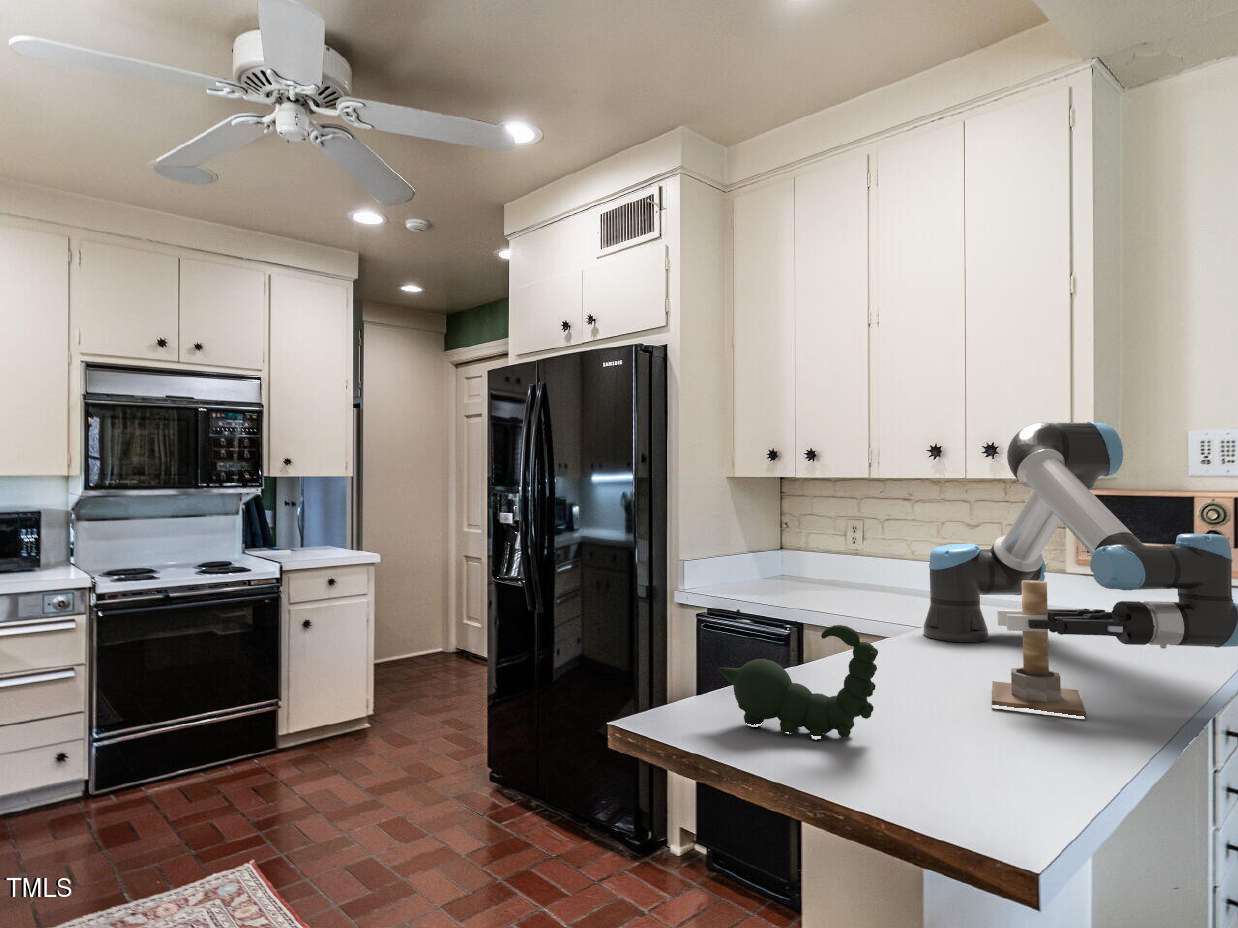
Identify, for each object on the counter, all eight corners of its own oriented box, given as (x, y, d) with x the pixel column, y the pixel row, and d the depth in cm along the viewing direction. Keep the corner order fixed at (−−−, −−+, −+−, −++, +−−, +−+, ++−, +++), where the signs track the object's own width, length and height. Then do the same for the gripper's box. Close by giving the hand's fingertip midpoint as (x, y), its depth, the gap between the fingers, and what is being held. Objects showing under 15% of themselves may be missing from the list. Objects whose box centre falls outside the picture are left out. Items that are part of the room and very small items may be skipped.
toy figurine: (872, 743, 119) (722, 709, 130) (882, 625, 119) (731, 601, 130) (865, 763, 111) (705, 726, 121) (875, 637, 110) (714, 610, 121)
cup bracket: (991, 708, 131) (991, 677, 131) (992, 688, 144) (992, 660, 144) (1085, 720, 125) (1084, 687, 125) (1077, 698, 137) (1077, 668, 137)
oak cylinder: (1023, 672, 133) (1021, 582, 134) (1023, 667, 137) (1021, 579, 137) (1049, 674, 131) (1047, 583, 132) (1048, 669, 135) (1046, 581, 135)
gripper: (1172, 655, 123) (1020, 651, 127) (1120, 634, 140) (987, 631, 143) (1171, 609, 123) (1019, 607, 127) (1119, 594, 140) (986, 592, 144)
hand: (1002, 620), depth 135 cm, fingers closed on oak cylinder, 4 cm apart
